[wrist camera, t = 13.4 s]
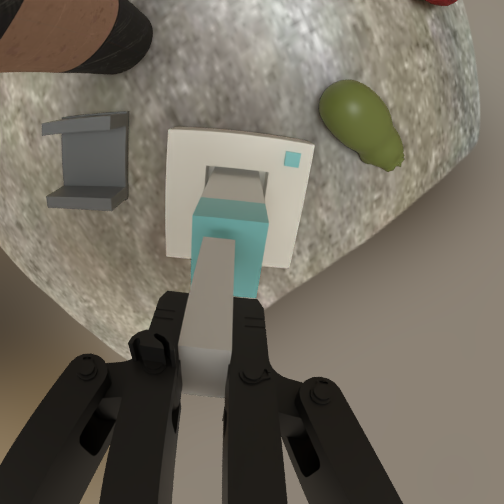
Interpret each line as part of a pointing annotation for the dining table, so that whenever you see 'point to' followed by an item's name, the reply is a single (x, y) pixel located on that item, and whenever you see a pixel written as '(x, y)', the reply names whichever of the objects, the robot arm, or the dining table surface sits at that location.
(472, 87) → the dining table surface
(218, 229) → the plug
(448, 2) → the onion
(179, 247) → the port block
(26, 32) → the travel mug
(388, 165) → the pear
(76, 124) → the holster
